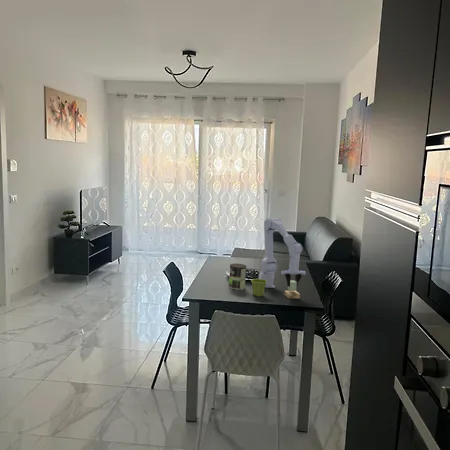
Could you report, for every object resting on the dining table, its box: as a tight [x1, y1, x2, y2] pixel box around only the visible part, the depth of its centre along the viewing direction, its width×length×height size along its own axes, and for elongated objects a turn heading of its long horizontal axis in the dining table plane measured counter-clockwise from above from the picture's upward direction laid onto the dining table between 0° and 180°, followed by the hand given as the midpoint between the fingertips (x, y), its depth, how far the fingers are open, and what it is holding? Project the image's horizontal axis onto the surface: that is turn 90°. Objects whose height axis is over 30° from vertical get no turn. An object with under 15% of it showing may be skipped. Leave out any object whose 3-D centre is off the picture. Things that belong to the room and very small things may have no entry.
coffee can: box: [228, 263, 247, 291], centre depth 267 cm, size 10×10×14 cm
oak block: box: [283, 290, 301, 299], centre depth 256 cm, size 7×7×3 cm
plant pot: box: [250, 278, 267, 297], centre depth 254 cm, size 9×9×9 cm
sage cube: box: [287, 279, 298, 291], centre depth 256 cm, size 4×4×5 cm
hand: (292, 286), depth 256 cm, fingers closed on sage cube, 4 cm apart
